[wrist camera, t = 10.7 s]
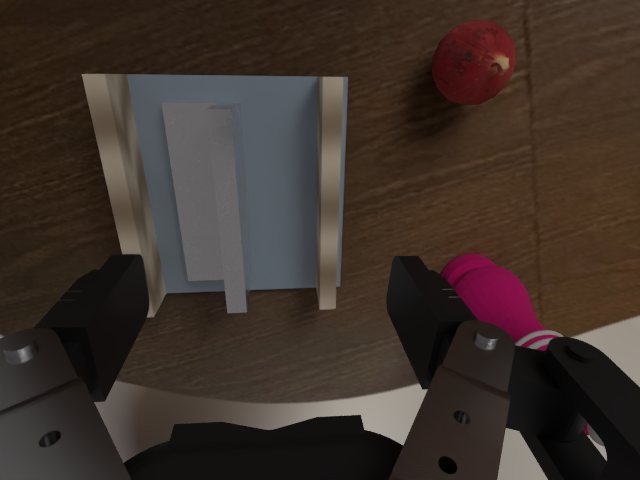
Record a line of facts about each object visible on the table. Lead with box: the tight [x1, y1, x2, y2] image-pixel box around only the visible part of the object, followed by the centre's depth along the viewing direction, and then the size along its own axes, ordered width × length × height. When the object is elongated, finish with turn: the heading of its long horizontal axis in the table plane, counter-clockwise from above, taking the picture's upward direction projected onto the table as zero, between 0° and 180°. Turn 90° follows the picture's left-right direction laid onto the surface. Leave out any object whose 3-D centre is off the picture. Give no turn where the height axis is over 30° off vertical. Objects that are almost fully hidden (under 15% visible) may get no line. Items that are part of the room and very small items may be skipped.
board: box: [127, 74, 348, 293], centre depth 34 cm, size 20×20×1 cm
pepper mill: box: [441, 254, 604, 446], centre depth 32 cm, size 7×7×20 cm
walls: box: [82, 74, 343, 317], centre depth 32 cm, size 20×18×4 cm
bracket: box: [161, 102, 253, 313], centre depth 31 cm, size 16×6×7 cm, turn 179°
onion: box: [432, 20, 516, 105], centre depth 28 cm, size 6×6×8 cm
